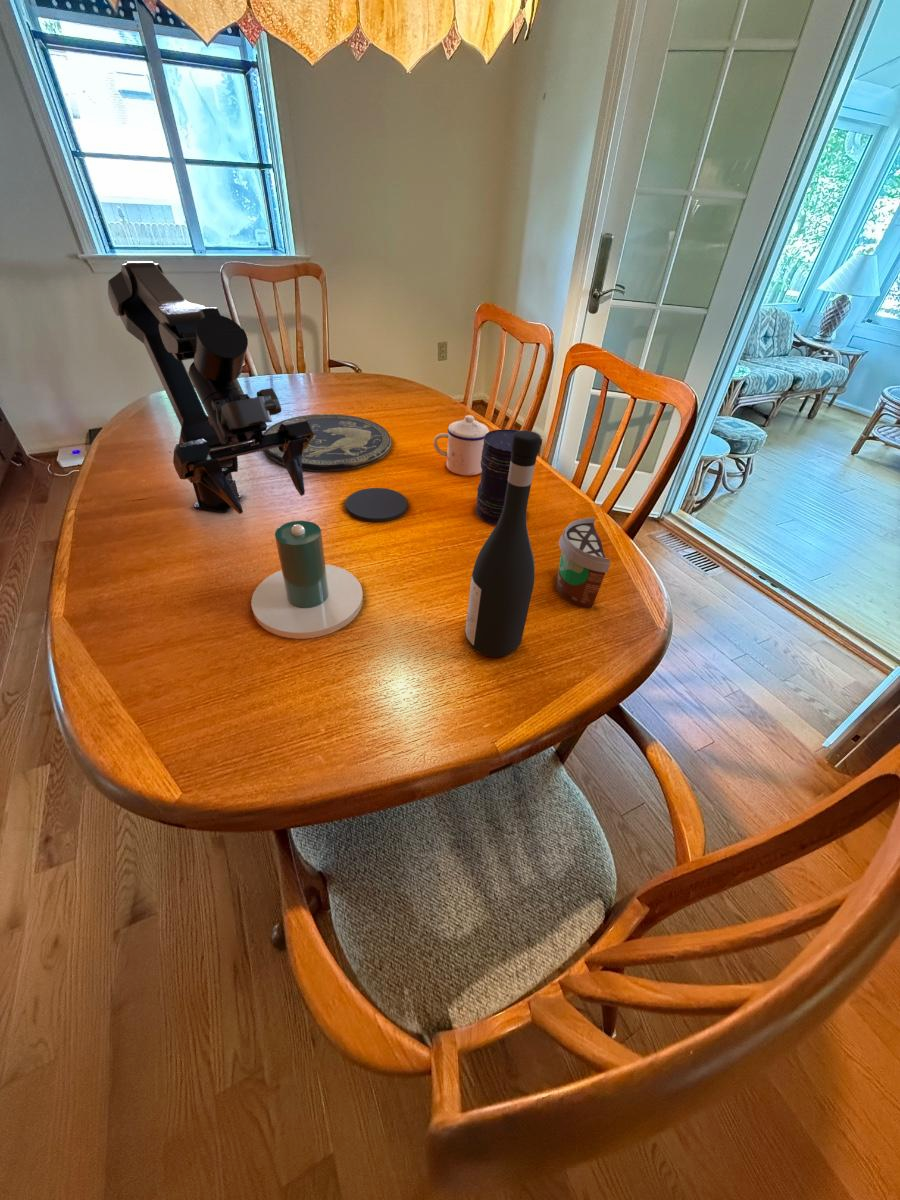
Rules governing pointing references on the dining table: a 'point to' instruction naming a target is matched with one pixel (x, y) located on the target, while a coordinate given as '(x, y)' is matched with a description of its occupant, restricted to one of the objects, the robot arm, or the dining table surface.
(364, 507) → the coaster
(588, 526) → the food container
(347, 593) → the saucer plate
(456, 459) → the teacup with lid
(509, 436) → the storage jar
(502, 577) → the wine bottle
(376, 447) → the decorative plate
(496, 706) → the dining table surface
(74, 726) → the dining table surface
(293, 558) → the canister
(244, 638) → the dining table surface
